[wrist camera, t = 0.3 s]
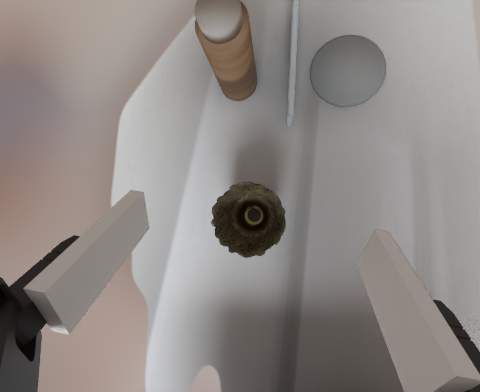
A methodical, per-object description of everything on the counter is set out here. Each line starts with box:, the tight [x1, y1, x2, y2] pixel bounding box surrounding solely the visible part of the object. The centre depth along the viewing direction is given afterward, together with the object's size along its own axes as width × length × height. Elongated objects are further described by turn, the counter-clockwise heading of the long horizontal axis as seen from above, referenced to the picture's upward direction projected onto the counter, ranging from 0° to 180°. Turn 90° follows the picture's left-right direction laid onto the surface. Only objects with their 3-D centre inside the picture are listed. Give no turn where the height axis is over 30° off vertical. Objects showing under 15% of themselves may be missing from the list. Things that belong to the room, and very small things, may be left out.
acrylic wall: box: [287, 0, 299, 126], centre depth 28 cm, size 15×1×4 cm, turn 177°
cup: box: [211, 182, 286, 258], centre depth 26 cm, size 8×7×8 cm
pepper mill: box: [195, 0, 257, 101], centre depth 25 cm, size 5×5×12 cm
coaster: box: [311, 36, 386, 106], centre depth 29 cm, size 9×9×1 cm
